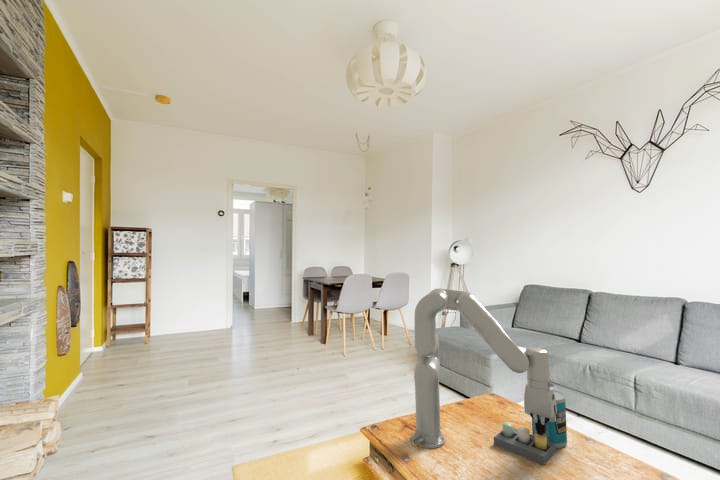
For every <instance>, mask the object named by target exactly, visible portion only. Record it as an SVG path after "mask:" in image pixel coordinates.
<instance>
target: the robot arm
mask: <svg viewBox="0 0 720 480" xmlns="http://www.w3.org/2000/svg"><path fill="white" fill-rule="evenodd" d="M445 310H448V311H449V310H450V311H458V313H460V315H461V316H462V317H463V318H464V320H466V321H467V322H468V323H469V325H470V326H471V327H472V328H473V329H474V330H475V331H476V332H477V334H478V335H479V336H480V337H481V339H482V340H483V341H484V342H486V344H487V345H488V346H489V348H490V349H491V350H492V351H493V353H495V354H496V356H498V358H499V359H500V360H501V361H502V363H504V364H505V365H506V367H507V368H508V369H509V370H511V371H512V372H514V373H516V374H523V373H526V376H527V377H526V379H527V380H526V381H527V383H525V387H524V394H523V397H524V398H523V406H524V407H523V408H524V413H525V414H526V415H529V416H530V417H531V419H532V418H533V419H534V422H535V424H536V430H537V434H540V435H543V434H544V433H545V432H546V423H547V422H548V421H550V422H555V421H556V420H557V419H556V416H555V415H556V414H557V407H556V400H555V395H554V391H553V390H554V388H555V383H554V382H553V381H551V375H550V374H551V373H550V355H549V352H548V351H547V350H546V349H544V348H539V347H524V346H520V345H517V344H515V342H514V341H513V340H512V339H511V338H510V337H509V336H508V334H507V333H506V332H505V330H504V328H503V327H502V326H501V325H500V323H499V321H497V319H496V318H495V317H494V316H493V315H492V314H491V313H490V312H489V311H488V309H486V307H484V306H483V304H482V303H480V301H479V300H478V299H477V297H476V296H475V294H473V293H471V292H469V291H463V290H456V289H455V290H453V289H448V288H446V289H445V288H434V289H432V290H430V292H429V293H427V294H426V295H424V296H423V297H422V298H420V300H419V301H418V302H417V304H416V305H415V309H414V348H415V351H416V356H417V357H416V358H417V359H416V360H417V362H416V365H415V368H414V372H413V373H414V374H413V377H414V378H413V380H414V393H415V424H416V425H415V426H416V427H415V431H414V432H413V433H412V436H411V437H409V442H410V443H411V444H416V446H417V445H418V446H419V447H421V448H425V449H438V448H440V447H442V446H443V445H444V444H445V441H446V439H445V436H444V435H443V434H442V433H441V412H440V411H441V405H440V404H441V403H440V401H441V400H440V370H441V363H440V362H441V361H440V360H441V358H440V339H439V335H438V334H437V327H436V326H437V323H436V321H437V320H436V319H437V318H436V317H437V315H438V313H441V312H442V311H445ZM539 415H540V416H541V420H540V416H539Z"/></svg>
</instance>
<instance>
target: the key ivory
mask: <svg viewBox="0 0 720 480" xmlns="http://www.w3.org/2000/svg"><path fill="white" fill-rule="evenodd" d="M517 430H518V440H519V441H520V442H522V443H526V444H527V443H530V434H531V432H530V429H529V428H528V427H524V426H523V427H522V426H520V427H518V428H517Z"/></svg>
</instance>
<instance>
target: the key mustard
mask: <svg viewBox="0 0 720 480" xmlns="http://www.w3.org/2000/svg"><path fill="white" fill-rule="evenodd" d="M534 437H535V447H536V448H538V449H540V450H546V449H547V436H546V435H544V434H543V435H540V434H537V433H535V434H534Z"/></svg>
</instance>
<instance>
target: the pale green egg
mask: <svg viewBox="0 0 720 480" xmlns="http://www.w3.org/2000/svg"><path fill="white" fill-rule="evenodd" d="M501 425H502V430H503V435H504V436H506V437H514V429H515V428H514V426H515V425H514V423H512V422H509V421H503V422H502V424H501Z"/></svg>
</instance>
